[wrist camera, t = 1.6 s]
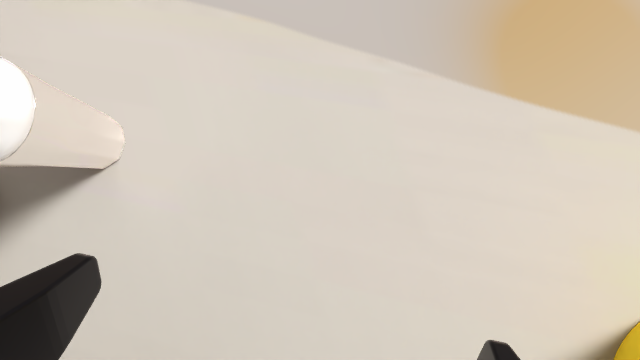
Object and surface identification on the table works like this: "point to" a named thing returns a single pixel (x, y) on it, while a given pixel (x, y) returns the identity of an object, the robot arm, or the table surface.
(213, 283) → the table surface
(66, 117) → the milkshake
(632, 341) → the yellow toilet paper roll
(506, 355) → the robot arm
